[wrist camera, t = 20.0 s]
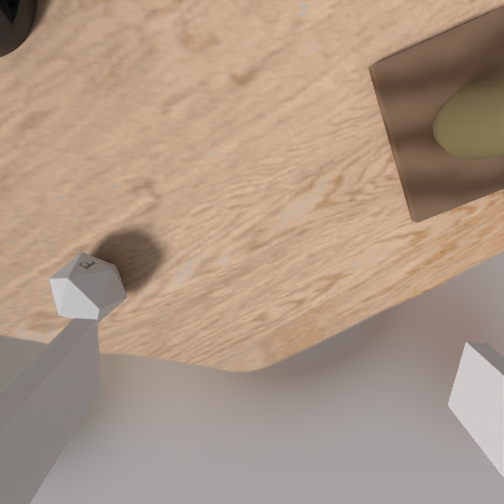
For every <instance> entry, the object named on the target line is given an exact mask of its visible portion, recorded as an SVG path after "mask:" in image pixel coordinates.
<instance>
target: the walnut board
mask: <svg viewBox="0 0 504 504" xmlns="http://www.w3.org/2000/svg"><path fill="white" fill-rule="evenodd" d="M369 72H370V75H371V79H372V82H373V86H374V89H375V93H376V96H377V100H378V103H379V107H380V110H381V114H382V117H383V121H384V124H385V128H386V131H387V135H388V138H389V142H390V145H391V149H392V152H393V156H394V160H395V163H396V167H397V170H398V174H399V177H400V181H401V184H402V188H403V191H404V195H405V198H406V202H407V205H408V209H409V212H410V216H411V219H412V221H414V222H417V223H418V222H420V221H423V220H425V219H428V218H430V217H433V216H435V215H438V214H440V213H443V212H446V211H448V210H451V209H453V208H456V207H458V206H461V205H463V204H466V203H469V202H471V201H474V200H476V199H479V198H481V197H484V196H486V195H489V194H492V193H494V192H497V191H499V190H502V189H504V157H496V158H486V159H476V160H468V159H459V158H457V157H455V156H454V155H452V154H450V153H449V152H447V151H446V150H445V149H444V148H443V147H441V146H440V145H439V144H438V142H437V141H436V139H435V137H434V135H433V127H432V126H433V122H434V118H435V115H436V114H437V112H438V111H439V109H440V108H441V106H442V105H443V104H444V103H445V102H446V101H447V100H448V99H449V98H450V97H451V96H453V95H454V94H455V93H456V92H458V91H459V90H460V89H462V88H463V87H464V86H467V85H471V84H474V83H477V82H483V81H492V80H502V79H504V8H503V7H502V8H499V9H497V10H495V11H493V12H490V13H488V14H486V15H484V16H481V17H479V18H477V19H475V20H472V21H470V22H468V23H466V24H463V25H461V26H459V27H457V28H455V29H452V30H450V31H448V32H446V33H443V34H441V35H439V36H437V37H434V38H432V39H430V40H428V41H425V42H423V43H421V44H419V45H416V46H414V47H412V48H410V49H407V50H405V51H403V52H401V53H398V54H396V55H394V56H392V57H390V58H387V59H385V60H383V61H381V62H378V63H376V64H374V65H372V66H370V67H369Z"/></svg>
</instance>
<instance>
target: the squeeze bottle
mask: <svg viewBox="0 0 504 504" xmlns="http://www.w3.org/2000/svg"><path fill="white" fill-rule="evenodd" d="M432 127H433V135H434V137H435V139H436V141H437V142H438V144H439V145H440V146H441V147H443V148H444V149H445V150H446V151H447V152H449V153H450V154H452V155H454V156H455V157H457V158H459V159H468V160H476V159H486V158H496V157H504V79H502V80H492V81H483V82H477V83H474V84H471V85H467V86H464V87H463V88H462V89H460V90H459V91H458V92H456V93H455V94H454V95H453V96H451V97H450V98H449V99H448V100H447V101H446V102H445V103H444V104H443V105H442V106H441V108H440V109H439V111H438V112H437V114H436V115H435V118H434V122H433V126H432Z"/></svg>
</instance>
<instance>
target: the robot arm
mask: <svg viewBox="0 0 504 504" xmlns="http://www.w3.org/2000/svg"><path fill="white" fill-rule="evenodd" d="M36 5H37V0H0V57H2V56H4V55H6V54H8V53H10V52H11V51H13V50H14V49H15V48H17V47H18V46H19V45H20V44H21V43H22V41H23V40H24V39H25V37H26V36H27V34H28V33H29V31H30V29H31V26H32V24H33V21H34V17H35V12H36ZM100 388H101V373H100V358H99V341H98V325H97V319H81V318H74V319H73V320H72V321H71V322H70V323H69V324H68V325H67V326H66V327H65V328H64V329H63V330H62V331H61V332H60V333H59V334H58V335H57V336H56V337H55V338H54V339H53V340H52V341H51V342H50V343H49V344H48V345H47V346H46V347H45V348H44V349H43V350H42V351H41V352H40V353H39V354H38V355H37V356H36V357H35V358H34V359H33V360H32V361H31V362H30V363H29V364H28V365H27V366H26V367H25V368H24V369H23V370H22V371H21V372H20V373H19V374H18V375H17V376H16V377H15V378H14V379H13V380H12V381H11V382H10V383H9V384H8V385H7V386H6V387H5V388H4V389H3V390H2V391H1V392H0V504H30V502H31V501H32V499H33V497H34V496H35V494H36V493H37V491H38V489H39V488H40V486H41V484H42V483H43V481H44V479H45V478H46V476H47V474H48V473H49V471H50V469H51V468H52V466H53V464H54V463H55V461H56V460H57V458H58V456H59V455H60V453H61V451H62V450H63V448H64V447H65V445H66V443H67V442H68V440H69V438H70V437H71V435H72V433H73V432H74V430H75V429H76V427H77V425H78V424H79V422H80V420H81V419H82V417H83V415H84V414H85V412H86V410H87V409H88V407H89V405H90V404H91V402H92V401H93V399H94V397H95V396H96V394H97V392H98V391H99V389H100ZM448 406H449V407H450V409H451V410H452V411H453V412H454V414H455V415H456V416H457V417H458V419H459V420H460V422H461V423H462V424H463V425H464V427H465V428H466V429H467V431H468V432H469V433H470V434H471V436H472V437H473V438H474V440H475V441H476V442H477V443H478V445H479V446H480V447H481V448H482V450H483V451H484V452H485V454H486V455H487V456H488V458H489V459H490V460H491V461H492V463H493V464H494V465H495V467H496V468H497V469H498V471H499V472H500V473H501V475H502V476H503V477H504V357H503V356H502V355H500V354H499V353H498V352H497V351H496V350H495V349H493V348H492V347H491V346H490V345H488V344H487V343H475V342H466V345H465V348H464V351H463V355H462V358H461V362H460V366H459V369H458V372H457V375H456V379H455V382H454V385H453V389H452V392H451V396H450V399H449V402H448Z"/></svg>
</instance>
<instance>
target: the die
mask: <svg viewBox="0 0 504 504" xmlns="http://www.w3.org/2000/svg"><path fill="white" fill-rule="evenodd" d="M49 280H50V284H51V288H52V292H53V296H54V300H55V303H56V307H57V311H58V315H61V316H65V317H69V318H73V319H74V318H81V319H97V323H98V322H100V321H101V320H102V319H103V318H104V317H105V316H107V315H108V314H109V313H110V312H111V311H112V310H113V309H115V308H116V307H117V306H118V305H119V304H120V303H122V302H123V301H124V300H125V299H126V298H127V295H126V292H125V289H124V287H123V284H122V281H121V278H120V275H119V272H118V269H117V266H116V265H114V264H112V263H109V262H107V261H104V260H101V259H99V258H96V257H94V256H91V255H89V254H86V253H84V252H81V253H80V254H79V255H78V256H76V257H75V258H74V259H73V260H71V261H70V262H69V263H68V264H66V265H65V266H64V267H63V268H62V269H60V270H59V271H58V272H57V273H55V274H54V275H53V276H52V277H50V278H49Z"/></svg>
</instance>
